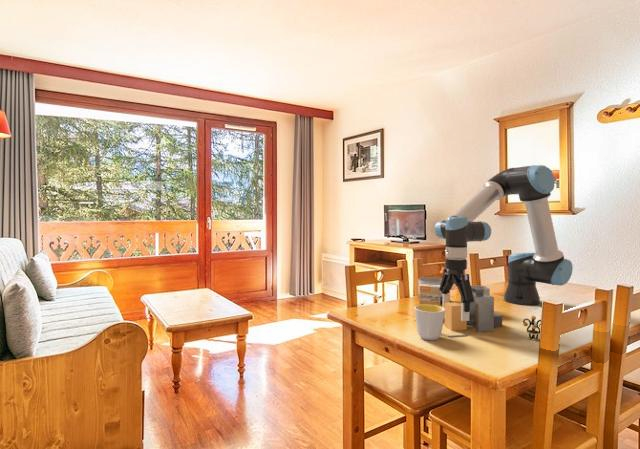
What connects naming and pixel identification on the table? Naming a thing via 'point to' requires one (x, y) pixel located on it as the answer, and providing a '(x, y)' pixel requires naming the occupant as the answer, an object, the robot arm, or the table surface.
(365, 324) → the table surface
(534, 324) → the figurine
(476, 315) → the housing
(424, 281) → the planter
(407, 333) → the table surface
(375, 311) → the table surface
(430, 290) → the supplement box
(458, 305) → the plug
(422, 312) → the mug
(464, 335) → the bay
